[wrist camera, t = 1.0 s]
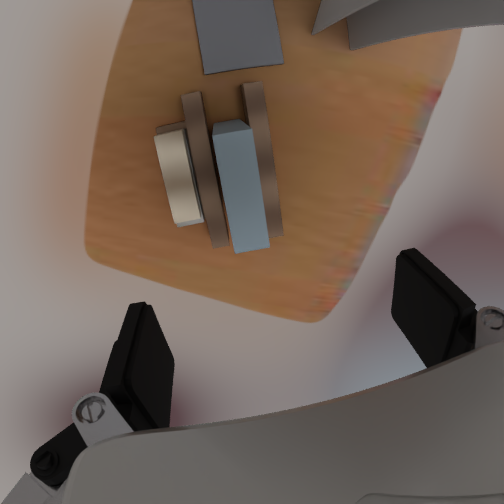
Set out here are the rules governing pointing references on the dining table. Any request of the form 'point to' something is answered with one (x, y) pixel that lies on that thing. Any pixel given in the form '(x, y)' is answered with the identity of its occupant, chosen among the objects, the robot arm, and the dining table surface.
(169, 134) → the offcut stack
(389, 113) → the dining table surface
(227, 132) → the blue grey brick
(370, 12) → the grey tall flat block
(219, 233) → the rack
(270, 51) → the slate mat
